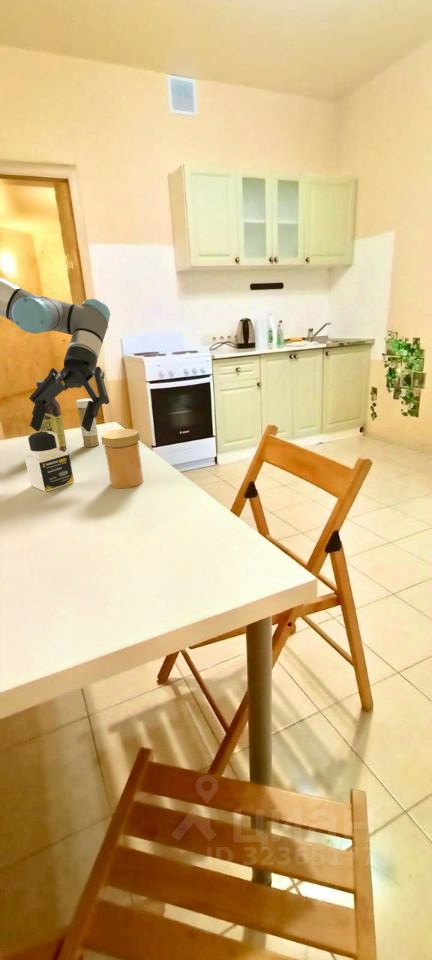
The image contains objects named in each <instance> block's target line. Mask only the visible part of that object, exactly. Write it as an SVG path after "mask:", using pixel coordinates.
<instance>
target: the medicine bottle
mask: <svg viewBox="0 0 432 960" xmlns="http://www.w3.org/2000/svg"><path fill="white" fill-rule="evenodd" d="M27 440H28V444H29V449H30V454H28V455H25V456H24V463H25V465H26V470H27V475H28V478H29V479H28V480H29V482H30V486H31V487H34V488H36V489H38V490H41V491H43V492H45V493H47V492H50V491H53V490H55V489H59V488H62V487H65V486H68V485H70V484H73V483H75V478H74V474H73V469H72V463H71V458H70V454H69V453H68V452H66V451H60V450H59V449H60V447H59V442H58V437H57V434H56V433H55V432H52V431H43V432H41V431H36V432H34V433H32V434H30V435H29V436H28V437H27Z"/></svg>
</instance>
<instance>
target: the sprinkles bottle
mask: <svg viewBox="0 0 432 960" xmlns="http://www.w3.org/2000/svg"><path fill="white" fill-rule="evenodd" d="M88 401H92V402H93V400H92V399H91V398H80V399H77V400H76V401H75V403H76V407H77V411H78V417H79V423H80V430H81V436H82V440H83V446H84V447H86V448H92V447H96V445H97V446H98V445H100V441H99V435H98V426H97V419H96V417H94V419H93V423H92V427H91V430H90V431H86V430H85V429H84V428H83V427H82V422H83V418H84V415H85V411H86V408H87V404H88Z"/></svg>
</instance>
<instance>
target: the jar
mask: <svg viewBox="0 0 432 960" xmlns="http://www.w3.org/2000/svg"><path fill="white" fill-rule="evenodd" d="M104 452H105V458H106V464H107V471H108V477H109V482H110V486H111V487H112V488H115V489H130V488H135V487H137V486H139V485H141V484H142V483H144V476H143V468H142V459H141V452H140V446H139V441H138V442H136V443H134V444H131V445H127V446H120V447H108V446H104Z"/></svg>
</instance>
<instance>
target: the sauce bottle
mask: <svg viewBox="0 0 432 960" xmlns="http://www.w3.org/2000/svg"><path fill="white" fill-rule="evenodd" d="M44 380H45V379H42V380H37V381H36V387H37V388H38V387H39V386H40V384H41V383H42V382H43V381H44ZM37 388H36V389H37ZM42 401H43V400H42ZM45 407H46V408H47V410H46V413H45V416H44V419H43V422H42V425H41V428H40V431H39V432H43V431H52V432H55V433H56V434H57V437H58V442H59V447H60V449H59V450H60V451H63V452H65V451H66V450H67V441H66V434H65V427H64V421H63V415H62V412H61V405H60V403H59V402H58V400H56V397H55V398H54V399H53V400H51V401H50V402H49V403H48V404H47V405H45Z"/></svg>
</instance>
